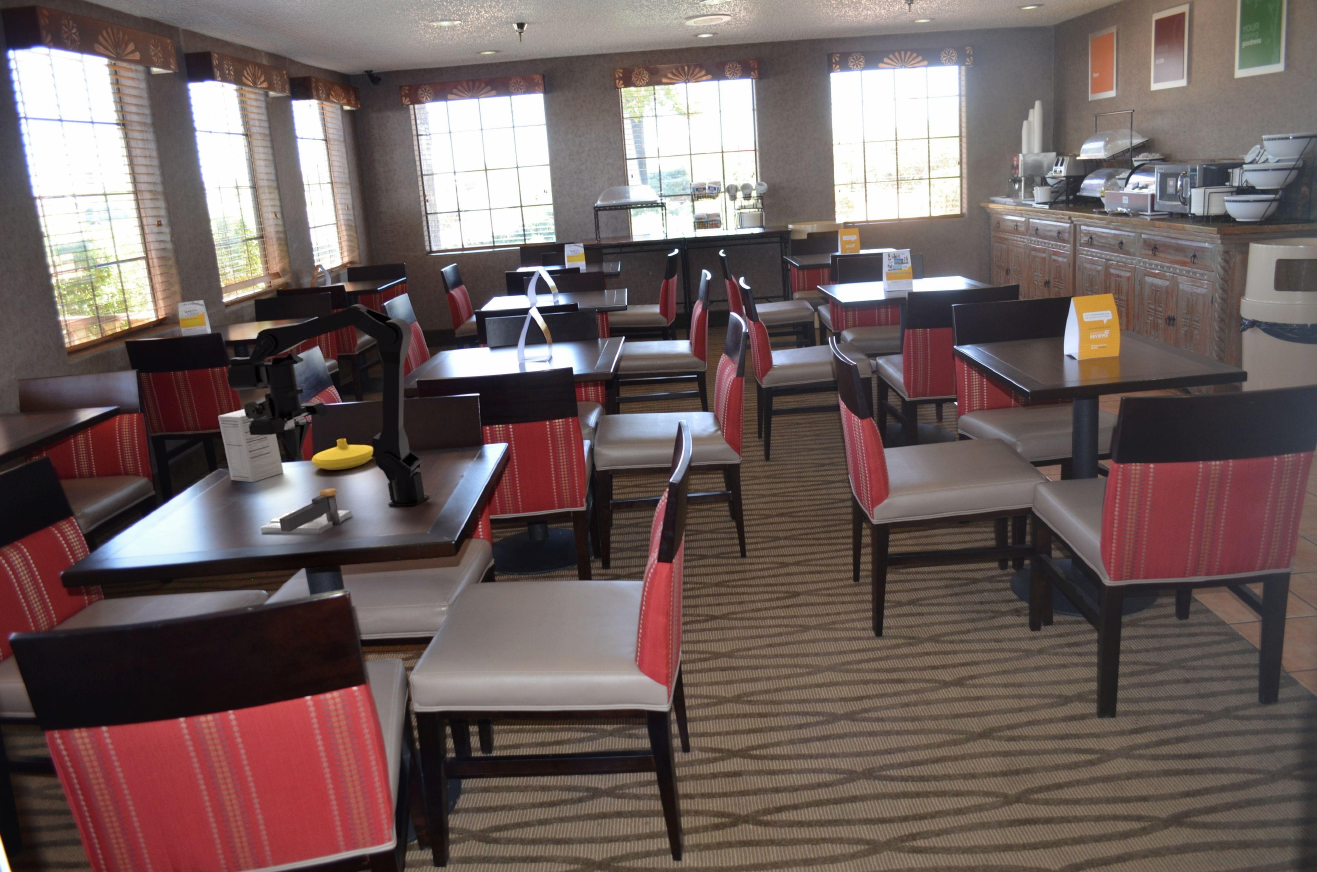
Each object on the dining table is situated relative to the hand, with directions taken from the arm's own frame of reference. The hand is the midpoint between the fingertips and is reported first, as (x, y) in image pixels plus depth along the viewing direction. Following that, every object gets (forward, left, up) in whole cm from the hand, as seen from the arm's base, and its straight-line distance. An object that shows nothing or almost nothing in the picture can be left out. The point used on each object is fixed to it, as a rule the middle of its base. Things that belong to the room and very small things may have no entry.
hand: (296, 457), depth 205 cm
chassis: (-7, +9, -12) cm, 17 cm away
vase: (+14, -35, -12) cm, 40 cm away
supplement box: (+34, -26, -12) cm, 45 cm away
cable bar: (-13, +15, -8) cm, 22 cm away
